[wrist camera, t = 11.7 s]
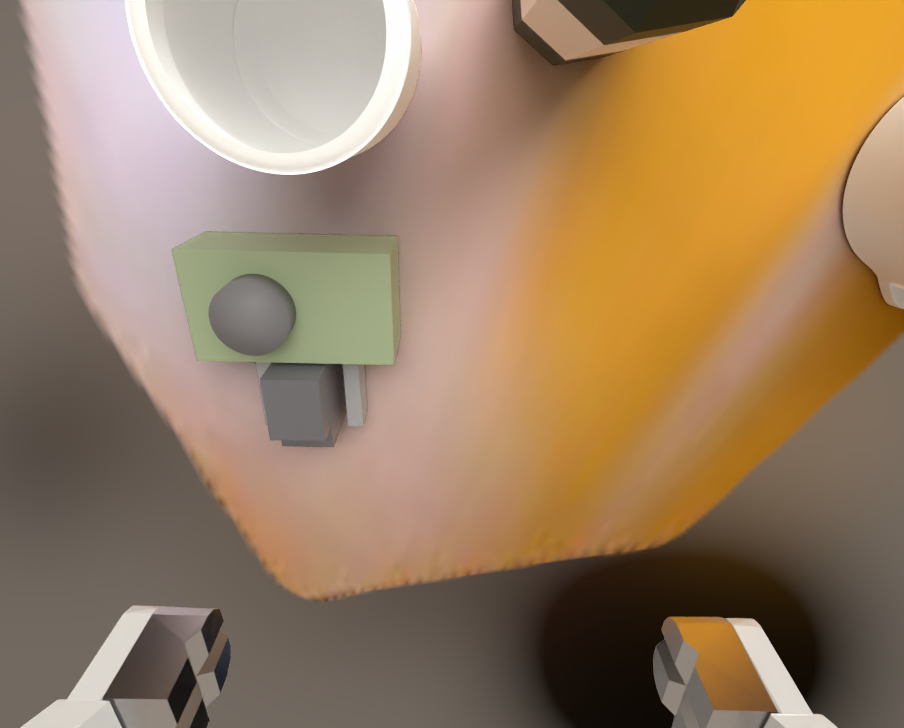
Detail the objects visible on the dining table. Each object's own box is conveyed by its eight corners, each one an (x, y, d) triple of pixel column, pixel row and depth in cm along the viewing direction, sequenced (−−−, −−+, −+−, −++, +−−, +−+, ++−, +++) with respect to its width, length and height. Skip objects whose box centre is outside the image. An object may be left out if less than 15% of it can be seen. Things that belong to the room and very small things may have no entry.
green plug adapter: (398, 236, 37) (386, 262, 31) (402, 410, 44) (394, 461, 38) (205, 231, 37) (154, 257, 31) (240, 407, 44) (204, 457, 38)
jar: (408, -65, 29) (368, -205, 16) (444, 129, 34) (437, 146, 21) (234, -20, 30) (60, -116, 17) (293, 163, 35) (192, 200, 22)
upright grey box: (339, 338, 41) (318, 380, 35) (345, 412, 44) (328, 463, 38) (289, 337, 41) (259, 379, 35) (299, 411, 44) (274, 462, 38)
